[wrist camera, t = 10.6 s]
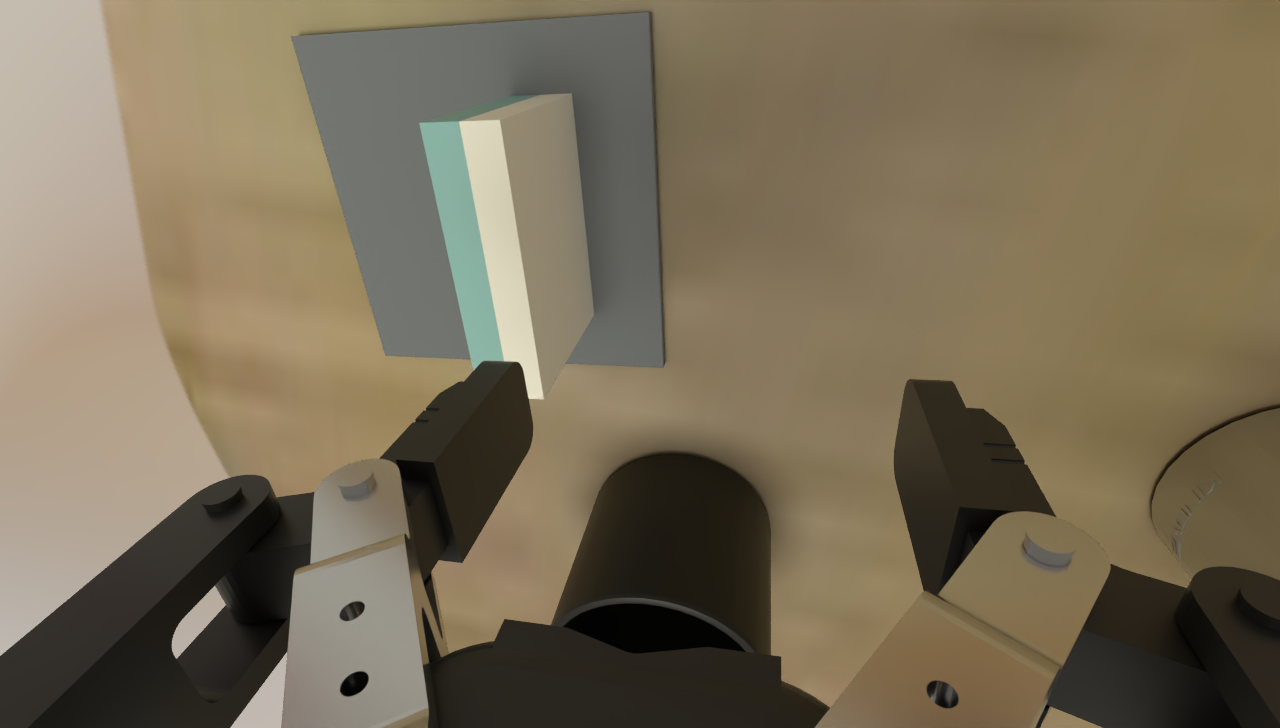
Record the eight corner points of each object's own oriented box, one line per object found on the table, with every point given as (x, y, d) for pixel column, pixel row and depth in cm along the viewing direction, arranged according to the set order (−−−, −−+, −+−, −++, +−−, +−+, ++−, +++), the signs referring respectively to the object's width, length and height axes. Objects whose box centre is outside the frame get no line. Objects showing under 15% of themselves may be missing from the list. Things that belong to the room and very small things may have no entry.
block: (572, 93, 22) (499, 119, 16) (594, 314, 27) (543, 399, 21) (511, 96, 23) (419, 122, 17) (542, 313, 27) (479, 395, 21)
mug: (655, 621, 37) (625, 780, 29) (567, 473, 32) (503, 615, 25) (808, 600, 34) (819, 772, 26) (734, 431, 29) (721, 580, 21)
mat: (650, 12, 21) (648, 11, 21) (664, 362, 28) (663, 367, 27) (299, 36, 24) (290, 36, 23) (390, 350, 30) (385, 355, 30)
